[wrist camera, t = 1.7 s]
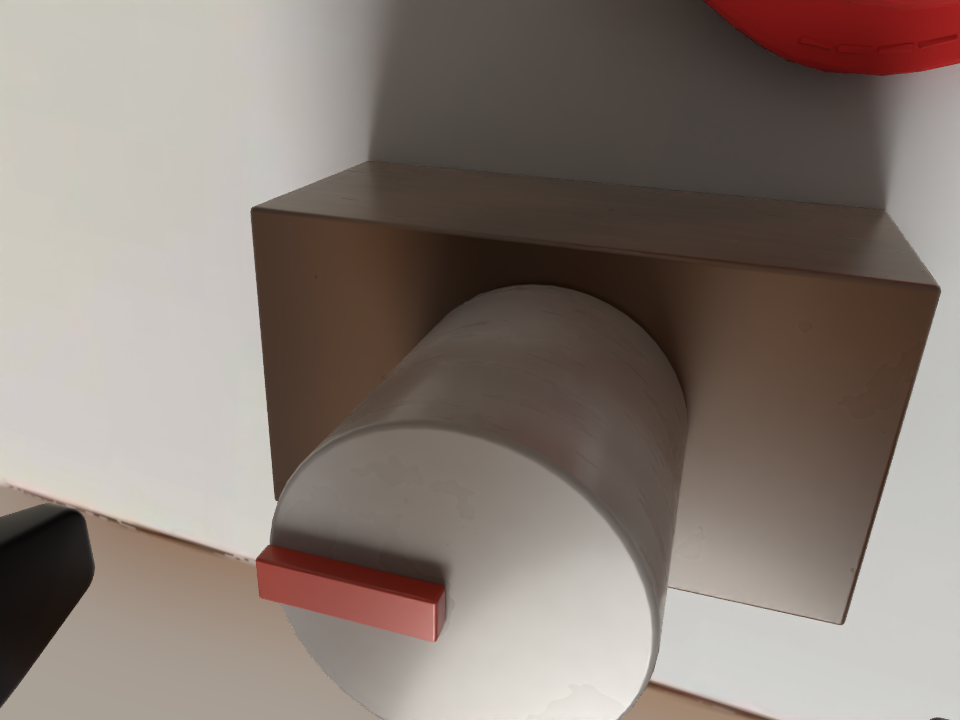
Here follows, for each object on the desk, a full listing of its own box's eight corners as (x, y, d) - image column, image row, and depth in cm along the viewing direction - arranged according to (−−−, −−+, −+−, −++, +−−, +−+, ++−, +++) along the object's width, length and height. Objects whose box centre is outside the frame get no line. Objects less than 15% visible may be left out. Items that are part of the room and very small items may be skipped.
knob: (708, 303, 11) (688, 486, 7) (667, 560, 13) (629, 830, 9) (411, 265, 12) (234, 401, 8) (411, 506, 14) (267, 722, 10)
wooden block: (887, 209, 14) (944, 288, 10) (820, 479, 16) (845, 628, 12) (366, 160, 17) (247, 206, 13) (372, 399, 19) (273, 502, 15)
